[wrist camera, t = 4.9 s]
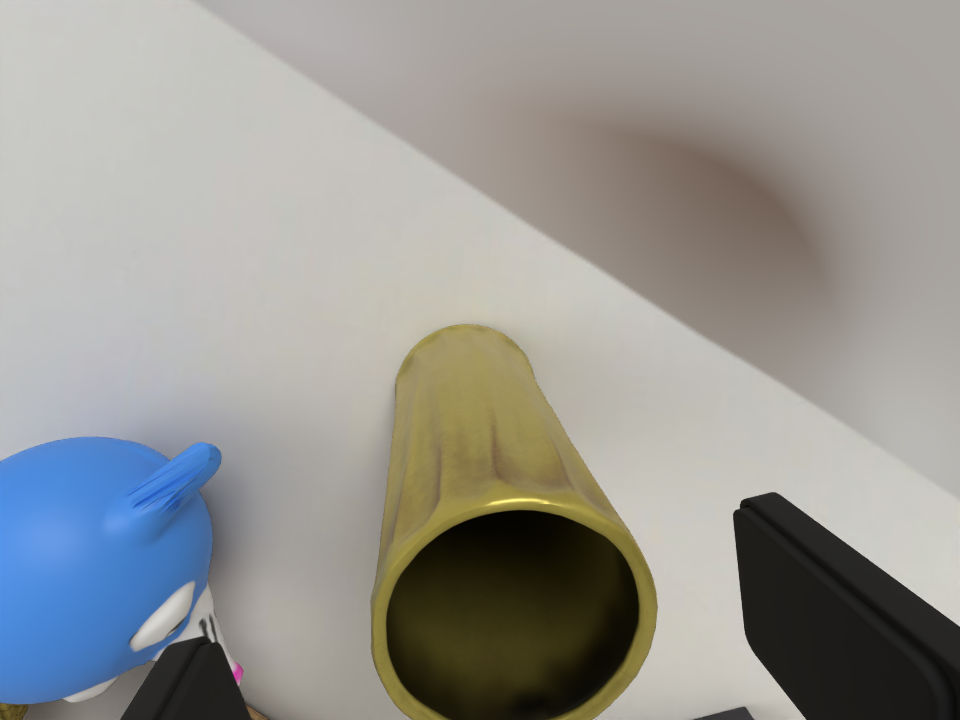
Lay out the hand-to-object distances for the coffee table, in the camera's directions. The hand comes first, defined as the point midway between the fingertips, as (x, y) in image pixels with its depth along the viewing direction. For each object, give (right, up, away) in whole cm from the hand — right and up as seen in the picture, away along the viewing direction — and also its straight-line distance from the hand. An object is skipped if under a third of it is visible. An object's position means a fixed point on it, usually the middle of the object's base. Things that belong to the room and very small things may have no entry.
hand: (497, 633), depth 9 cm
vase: (-1, +4, +14) cm, 14 cm away
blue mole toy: (-14, -2, +14) cm, 20 cm away
